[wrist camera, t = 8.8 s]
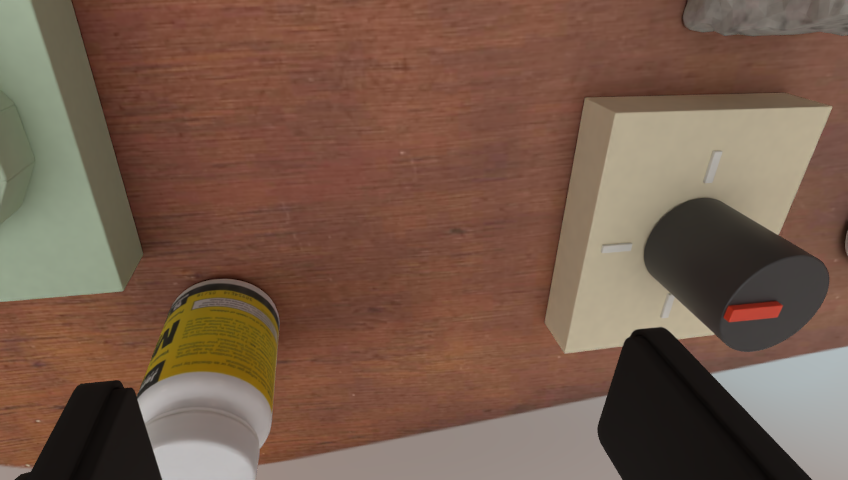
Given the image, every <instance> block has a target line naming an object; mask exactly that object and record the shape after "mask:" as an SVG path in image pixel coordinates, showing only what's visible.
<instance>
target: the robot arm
mask: <svg viewBox="0 0 848 480" xmlns="http://www.w3.org/2000/svg"><path fill="white" fill-rule="evenodd" d="M598 437H599V440H600V442H601V444H602V446H603V447H604V450H605V451H606V453H607V455H608V456H609V458H610V459H611V461H612V463H613V465H614V466H615V468H616V469H617V471H618V473H619V475H620V476H621V478H622V480H812V479H811V478H810V477H809V476H808V475H807V474H806V473H805V472H804V471H803V470H802V469H801V468H800V467H799V466H798V465H797V464H796V462H795V461H794V460H793V459H792V458H791V457H790V456H789V455H788V454H787V453H786V452H785V451H784V450H783V449H782V448H781V447H780V446H779V445H778V444H777V443H776V442H775V441H774V440H773V438H772V437H771V436H770V435H769V434H768V433H767V432H766V431H765V430H764V429H763V428H762V427H761V426H760V425H759V424H758V423H757V422H756V421H755V420H754V419H753V418H752V417H751V416H750V415H749V414H748V412H747V411H746V410H745V409H744V408H743V407H742V406H741V405H740V404H739V403H738V402H737V401H736V400H735V399H734V398H733V397H732V396H731V395H730V394H729V393H728V392H727V391H726V390H725V389H724V388H723V387H722V386H721V384H720V383H719V382H718V381H717V380H716V379H715V378H714V377H713V376H712V375H711V374H710V373H709V372H708V371H707V370H706V369H705V368H704V367H703V366H702V365H701V364H700V362H699V361H698V360H697V359H696V358H695V357H694V356H693V355H692V354H691V353H690V352H689V351H688V350H687V349H686V348H685V347H684V346H683V345H682V344H681V343H680V342H679V341H678V340H677V339H676V338H675V336H674V335H673V334H672V333H671V332H670V331H668V330H667V329H666V328H663V327H656V328H645V329H637V330H634V331H633V332H632V333H631V336H630V337H628V338H627V339H626V340H625V342H624V344H623V347H622V351H621V354H620V357H619V360H618V363H617V367H616V370H615V373H614V376H613V379H612V382H611V386H610V389H609V392H608V395H607V398H606V402H605V405H604V408H603V411H602V414H601V418H600V421H599V424H598ZM15 480H162V477H161V474H160V471H159V468H158V465H157V461H156V458H155V455H154V452H153V448H152V445H151V442H150V439H149V436H148V432H147V429H146V426H145V423H144V420H143V416H142V413H141V410H140V407H139V403H138V400H137V397H136V394H135V391H134V389H133V388H124V387H123V385H122V383H121V382H120V381H117V380H115V381H105V382H95V383H85V384H80V385H78V386H77V387H76V389H75V390H74V391H73V393H72V395H71V397H70V399H69V401H68V403H67V405H66V407H65V408H64V410H63V412H62V414H61V416H60V418H59V420H58V422H57V423H56V425H55V427H54V429H53V431H52V433H51V435H50V437H49V439H48V440H47V442H46V444H45V446H44V448H43V450H42V452H41V454H40V456H39V457H38V459H37V461H36V463H35V465H34V467H33V469H32V471H31V472H28V473H24V474H21V475H20V476H18V477H17V478H16V479H15Z"/></svg>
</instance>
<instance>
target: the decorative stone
mask: <svg viewBox="0 0 848 480" xmlns="http://www.w3.org/2000/svg"><path fill="white" fill-rule="evenodd" d="M687 2H688V3H687V5H686V8H685V11H684V14H683V21H684V25H685V27H687V28H688V29H689V30H694V31H698V32H711V31H715V32H717V33H719V34H722V35H724V36H727V35H736V34H740V35H748V36H759V35H794V34H805V33H812V32H818V31H820V32H825V33H832V34H837V35H841V36H844V35H848V0H688V1H687Z"/></svg>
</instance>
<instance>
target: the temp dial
mask: <svg viewBox="0 0 848 480" xmlns="http://www.w3.org/2000/svg"><path fill="white" fill-rule="evenodd" d="M644 262H645V266H646V268H647V270H648V272H649V273H650V274H651V275H652V276H653V277H654V278H655V279H656V280H657V281H658V282H659V283H660V284H661V285H662V286H663V287H664V288H666V289H667V290H668V291H669V292H670V293H671V294H672V295H673V296H674V297H675V298H676V299H677V300H679V301H680V302H681V303H682V304H683V305H684V306H685V307H686V308H687V309H688V310H689V311H690V312H691V313H693V314H694V315H695V316H696V317H697V318H698V319H699V320H700V321H701V322H702V323H703V324H704V325H706V326H707V327H708V328H709V329H710V330H711V331H712V332H713V333H714V334H715V335H716V336H717V337H718V338H720V339H721V340H722V341H723V342H724V343H725V344H726V345H727V346H729V347H730V348H732V349H735V350H738V351H744V352H752V351H759V350H763V349H766V348H769V347H772V346H774V345H776V344H779V343H781V342H782V341H784V340H786V339H787V338H789V337H790V336H792V335H793V334H795V333H796V332H797V331H799V330H800V329H801V328H802V327H803V326H804V325H805V324H806V323H807V322H808V321H809V320H810V319H811V318H812V317H813V316H814V315H815V313H816V312H817V310H818V309H819V308H820V306H821V304H822V303H823V301H824V298H825V296H826V294H827V291H828V286H829V273H828V270H827V268H826V266H825V265H824V263H823V262H822V261H821V260H819V259H818V258H816V257H814V256H813V255H811V254H809V253H808V252H806V251H804V250H802V249H801V248H799V247H797V246H796V245H794V244H792V243H791V242H789V241H787V240H786V239H784V238H782V237H781V236H779V235H777V234H775V233H774V232H772V231H770V230H769V229H767V228H765V227H764V226H762V225H760V224H759V223H757V222H755V221H754V220H752V219H750V218H748V217H747V216H745V215H743V214H742V213H740V212H738V211H737V210H735V209H733V208H732V207H730V206H728V205H726V204H725V203H723V202H721V201H720V200H717V199H713V198H698V199H693V200H690V201H687V202H685V203H683V204H681V205H679V206H677V207H675V208H674V209H672V210H671V211H670V212H668V213H667V214H666V215H665V216H664V217H663V218H662V219H661V220H660V221H659V222H658V223H657V224H656V226H655V227H654V228H653V230H652V232H651V233H650V235H649V237H648V239H647V242H646V245H645V249H644Z"/></svg>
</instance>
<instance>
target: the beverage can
mask: <svg viewBox="0 0 848 480" xmlns="http://www.w3.org/2000/svg"><path fill="white" fill-rule="evenodd" d="M845 249H846V252H847V255H848V231H847V234H846V240H845Z"/></svg>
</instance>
